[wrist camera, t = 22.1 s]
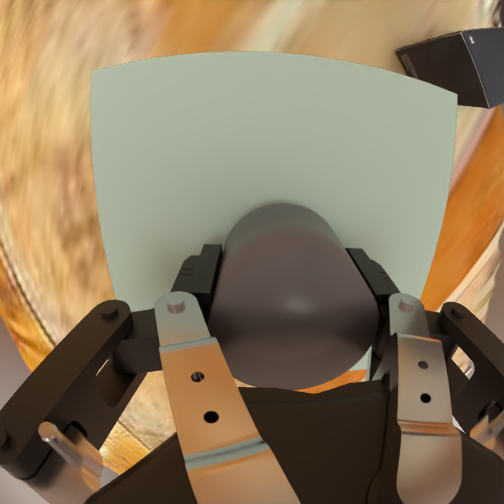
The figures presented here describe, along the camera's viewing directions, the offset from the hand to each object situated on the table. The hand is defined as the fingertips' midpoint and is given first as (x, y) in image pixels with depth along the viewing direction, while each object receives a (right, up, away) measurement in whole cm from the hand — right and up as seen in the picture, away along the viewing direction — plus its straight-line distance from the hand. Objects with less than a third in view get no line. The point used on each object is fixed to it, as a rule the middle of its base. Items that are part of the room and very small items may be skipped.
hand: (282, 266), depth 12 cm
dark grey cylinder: (0, 0, +1) cm, 1 cm away
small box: (+18, +20, +7) cm, 28 cm away
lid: (0, +1, +2) cm, 3 cm away
